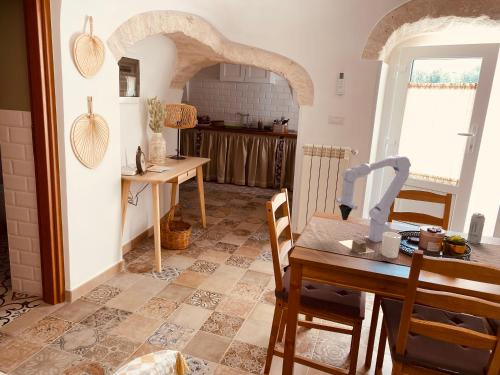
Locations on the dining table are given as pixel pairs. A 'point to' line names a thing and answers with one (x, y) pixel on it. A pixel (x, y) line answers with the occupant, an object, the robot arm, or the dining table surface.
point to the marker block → (359, 246)
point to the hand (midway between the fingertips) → (344, 219)
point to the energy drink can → (476, 228)
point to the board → (349, 244)
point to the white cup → (391, 244)
